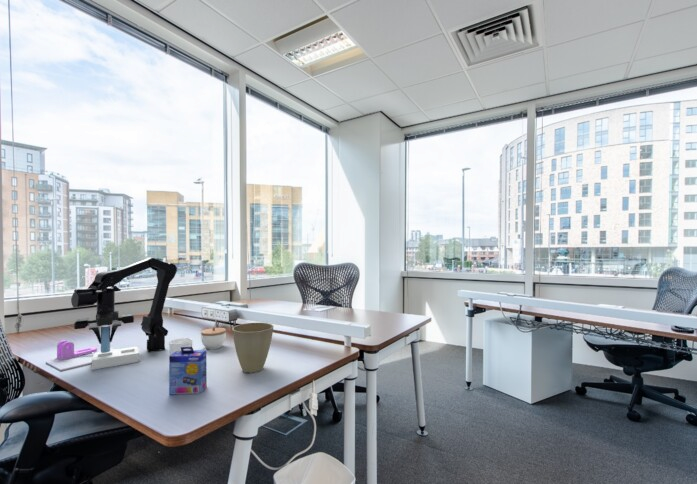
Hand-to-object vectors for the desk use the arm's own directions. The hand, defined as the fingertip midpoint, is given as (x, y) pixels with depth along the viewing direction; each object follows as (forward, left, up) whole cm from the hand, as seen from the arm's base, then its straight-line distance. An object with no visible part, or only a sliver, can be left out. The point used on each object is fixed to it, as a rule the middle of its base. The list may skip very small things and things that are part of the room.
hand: (105, 342), depth 128 cm
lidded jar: (-40, +3, -8) cm, 41 cm away
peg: (0, 0, -4) cm, 4 cm away
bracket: (+10, -21, -9) cm, 25 cm away
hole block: (-4, 0, -8) cm, 9 cm away
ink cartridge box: (-23, +47, -8) cm, 53 cm away
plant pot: (-46, +41, -8) cm, 62 cm away
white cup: (-24, +22, -8) cm, 34 cm away
